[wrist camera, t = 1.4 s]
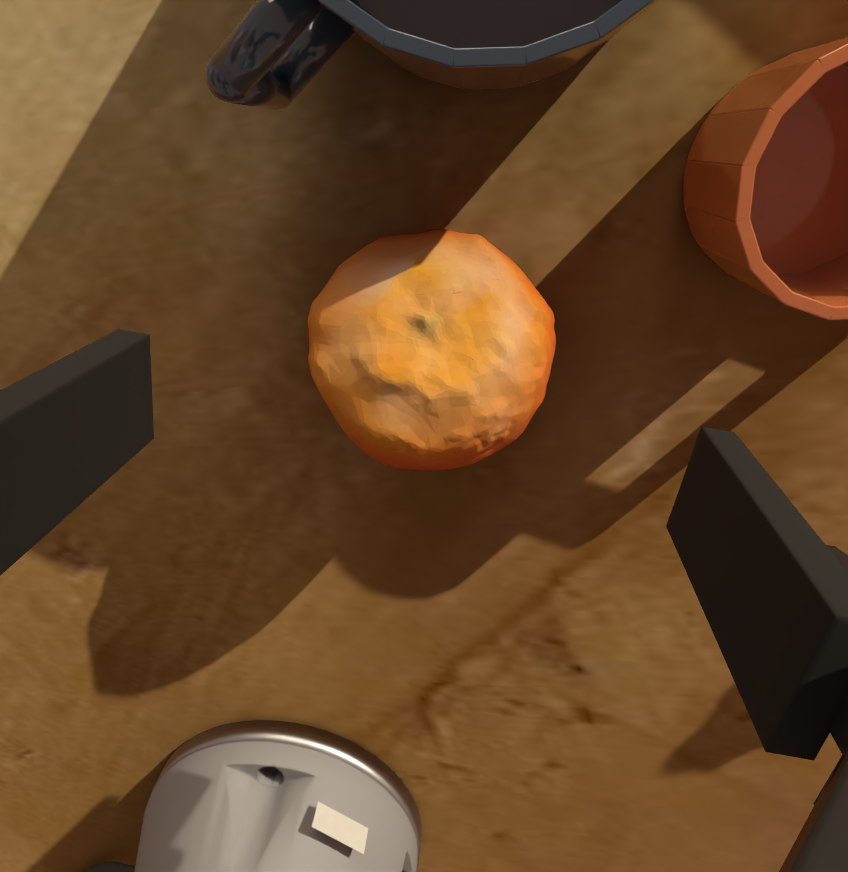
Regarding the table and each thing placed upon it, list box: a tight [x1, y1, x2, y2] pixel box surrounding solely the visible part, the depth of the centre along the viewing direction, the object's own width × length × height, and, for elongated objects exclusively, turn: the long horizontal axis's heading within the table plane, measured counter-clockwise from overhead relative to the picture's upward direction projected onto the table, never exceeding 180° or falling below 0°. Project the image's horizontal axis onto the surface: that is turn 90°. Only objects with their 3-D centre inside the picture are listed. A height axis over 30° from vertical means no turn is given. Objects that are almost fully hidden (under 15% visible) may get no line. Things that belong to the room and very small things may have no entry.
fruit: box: [307, 229, 556, 470], centre depth 23 cm, size 8×8×8 cm
